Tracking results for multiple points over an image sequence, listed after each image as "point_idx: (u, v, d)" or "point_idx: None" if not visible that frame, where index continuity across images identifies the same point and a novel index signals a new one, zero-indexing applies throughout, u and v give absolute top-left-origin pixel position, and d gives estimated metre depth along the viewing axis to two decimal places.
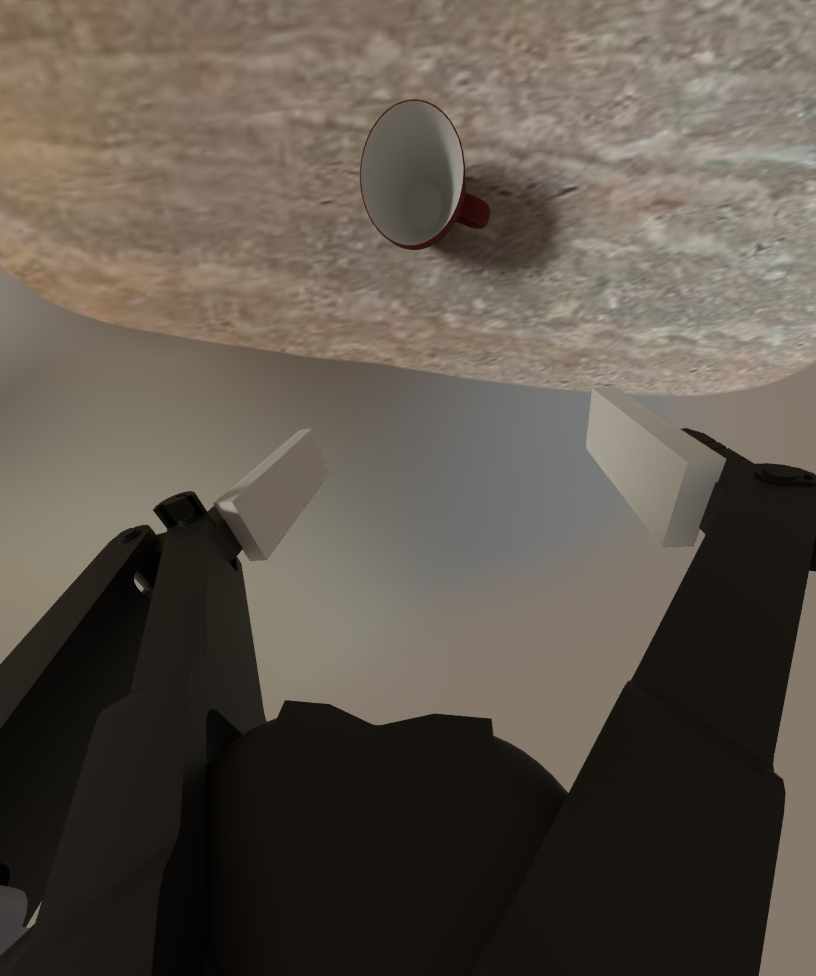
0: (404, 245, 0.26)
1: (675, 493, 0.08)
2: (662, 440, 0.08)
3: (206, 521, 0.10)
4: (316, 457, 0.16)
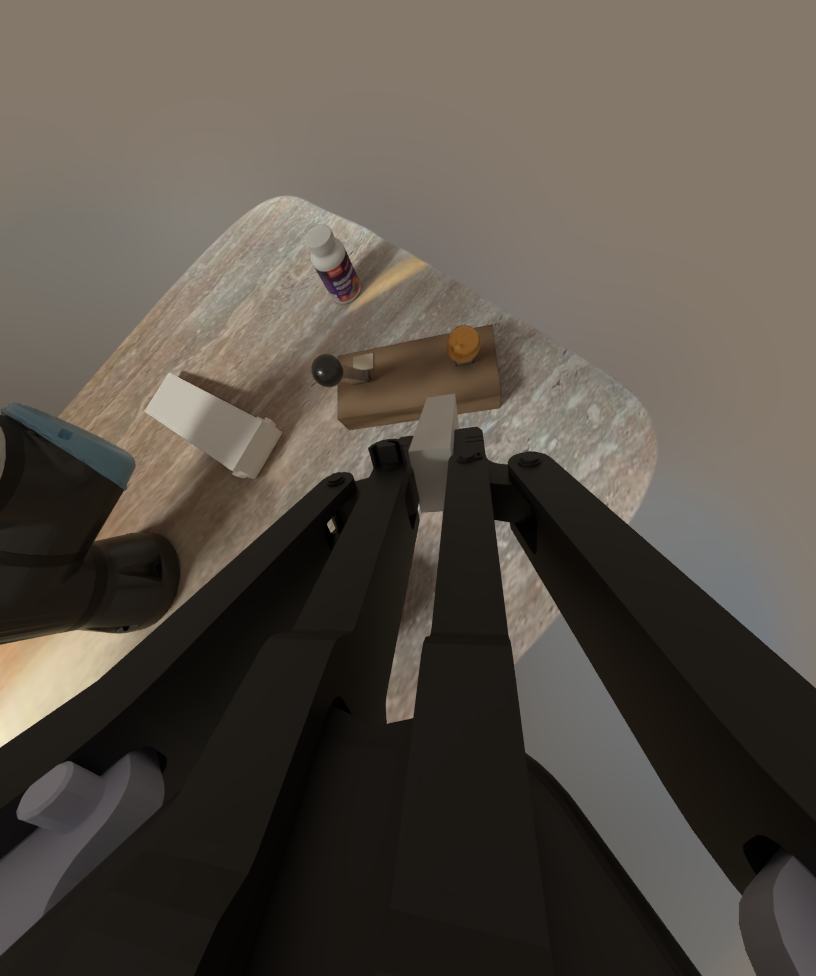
0: None
1: None
2: (433, 435, 0.12)
3: (403, 474, 0.10)
4: None
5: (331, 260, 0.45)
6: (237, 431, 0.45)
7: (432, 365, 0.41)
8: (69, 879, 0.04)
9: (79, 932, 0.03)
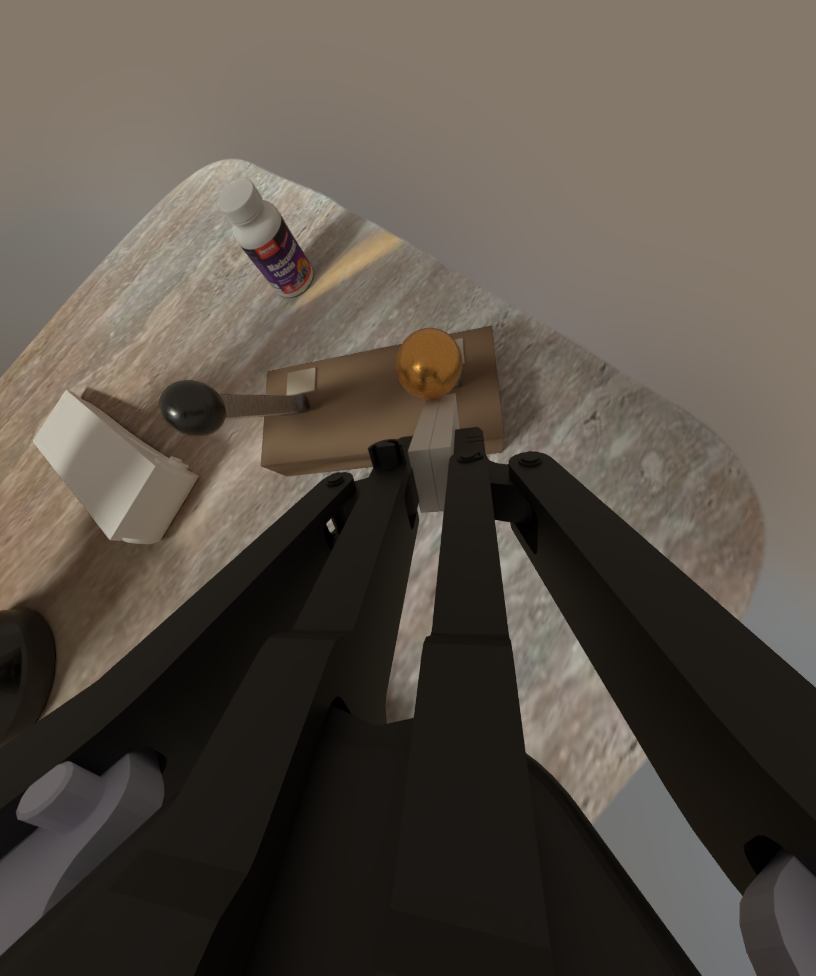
0: None
1: None
2: (433, 435, 0.12)
3: (402, 474, 0.10)
4: None
5: (257, 232, 0.31)
6: (124, 479, 0.32)
7: (399, 388, 0.27)
8: (69, 879, 0.04)
9: (79, 932, 0.03)
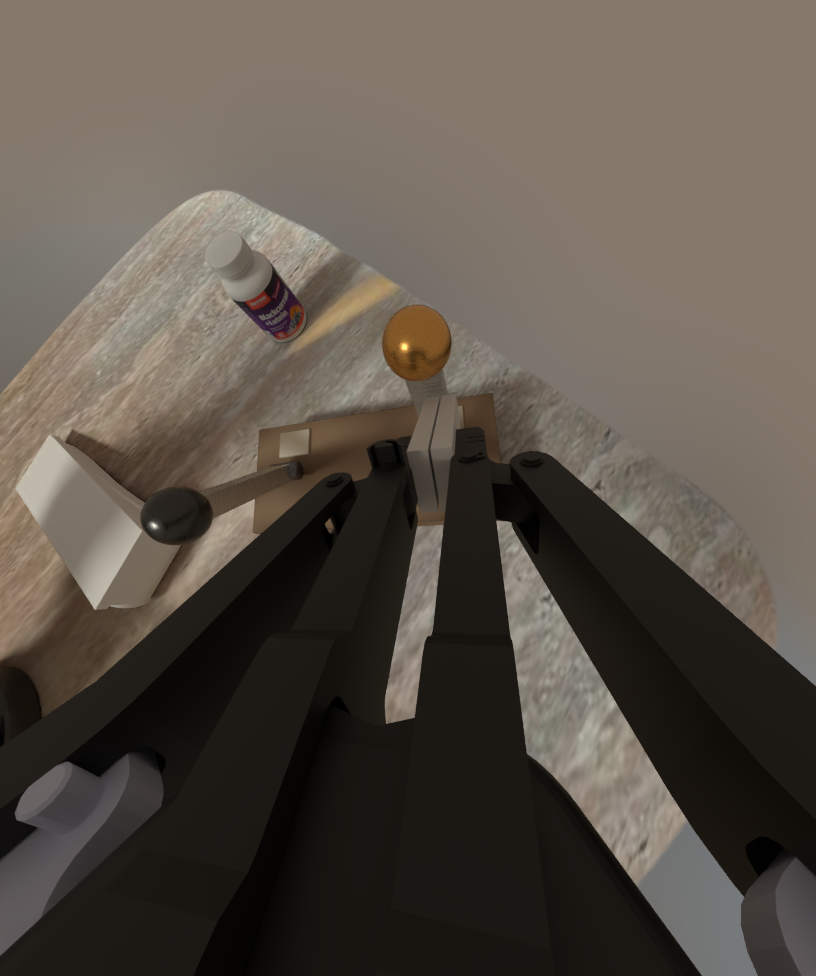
0: None
1: None
2: (434, 435, 0.12)
3: (401, 474, 0.10)
4: None
5: (247, 285, 0.29)
6: (110, 542, 0.30)
7: None
8: (68, 880, 0.04)
9: (79, 932, 0.03)
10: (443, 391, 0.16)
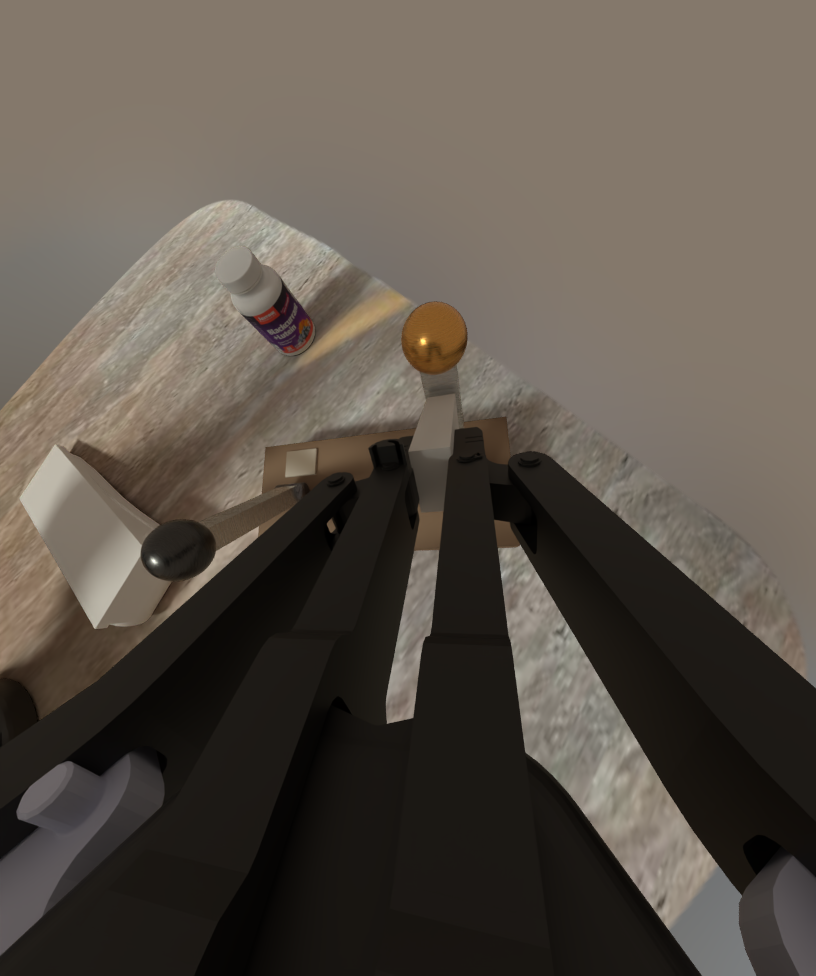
0: None
1: None
2: (433, 435, 0.12)
3: (403, 474, 0.10)
4: None
5: (256, 301, 0.29)
6: (112, 559, 0.30)
7: None
8: (69, 879, 0.04)
9: (80, 931, 0.03)
10: (457, 392, 0.16)
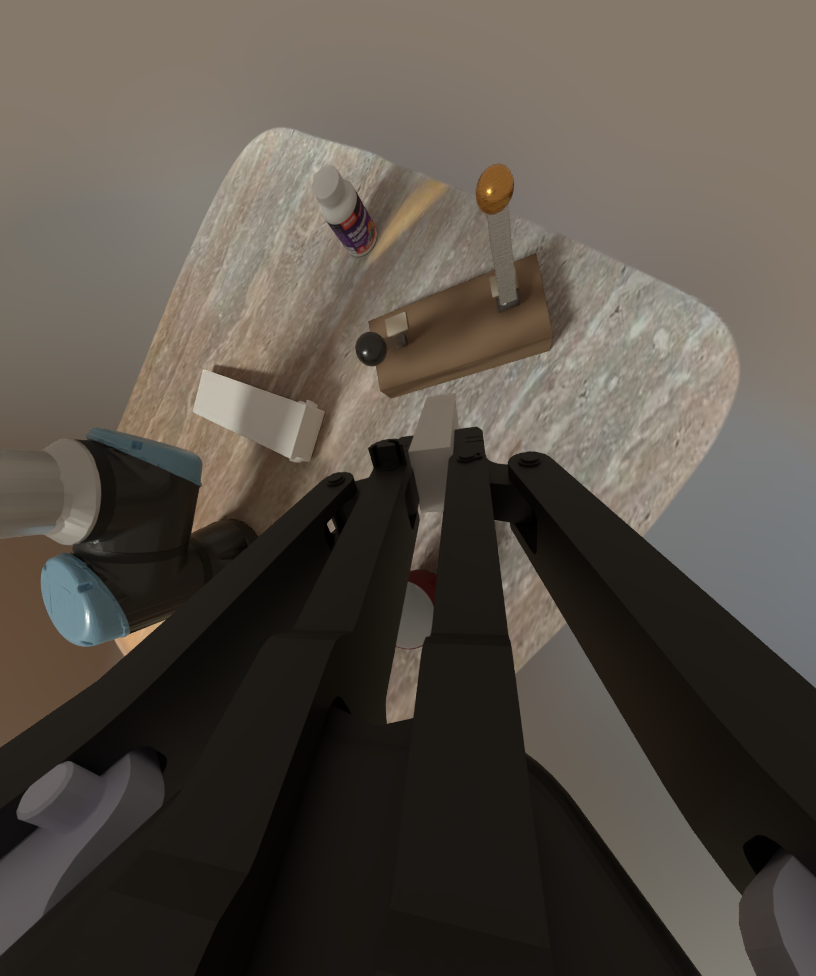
0: None
1: None
2: (433, 435, 0.12)
3: (403, 474, 0.10)
4: None
5: (343, 209, 0.40)
6: (284, 419, 0.47)
7: (472, 315, 0.38)
8: (69, 879, 0.04)
9: (79, 932, 0.03)
10: (509, 224, 0.28)
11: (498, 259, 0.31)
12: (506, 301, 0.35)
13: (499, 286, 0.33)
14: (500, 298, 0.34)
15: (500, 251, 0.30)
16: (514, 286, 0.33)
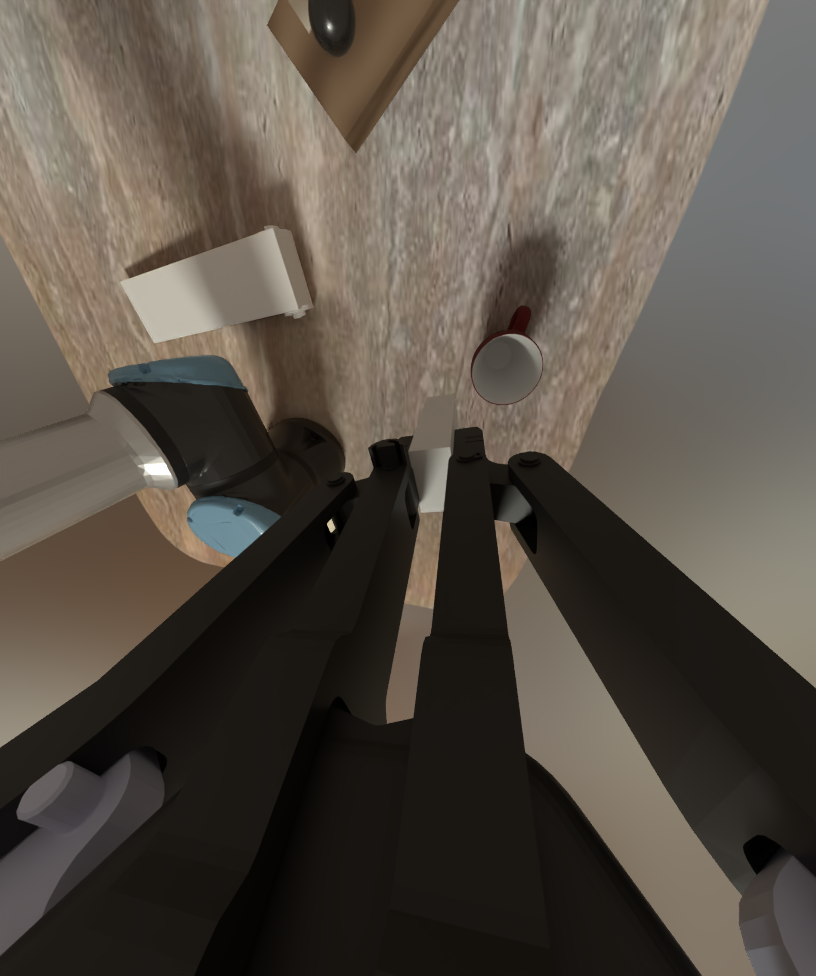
0: (540, 377, 0.36)
1: None
2: (433, 435, 0.12)
3: (403, 474, 0.10)
4: None
5: None
6: (260, 267, 0.38)
7: None
8: (69, 879, 0.04)
9: (79, 932, 0.03)
10: None
11: None
12: None
13: None
14: None
15: None
16: None
